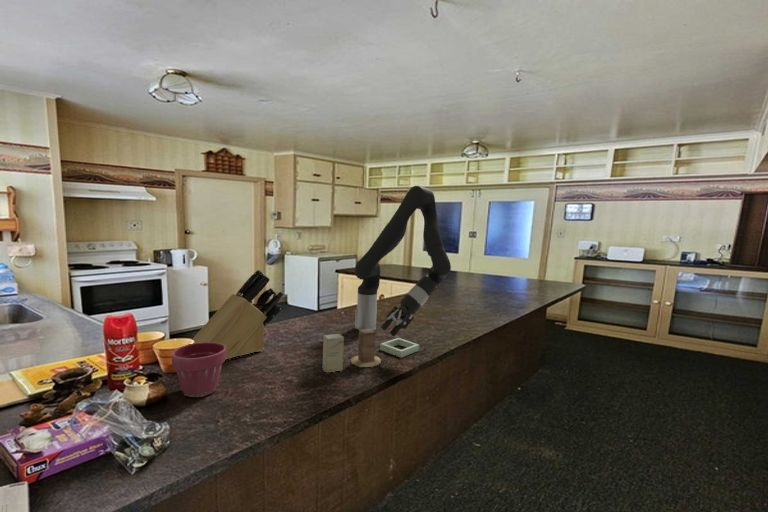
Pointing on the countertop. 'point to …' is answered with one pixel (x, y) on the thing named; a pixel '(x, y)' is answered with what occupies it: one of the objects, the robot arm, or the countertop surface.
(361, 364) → the coaster
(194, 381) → the plant pot
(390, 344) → the holder
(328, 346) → the skincare box
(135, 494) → the countertop surface
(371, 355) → the walnut block
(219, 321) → the knife block
